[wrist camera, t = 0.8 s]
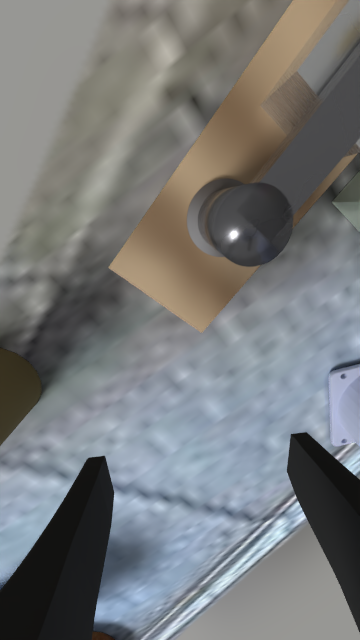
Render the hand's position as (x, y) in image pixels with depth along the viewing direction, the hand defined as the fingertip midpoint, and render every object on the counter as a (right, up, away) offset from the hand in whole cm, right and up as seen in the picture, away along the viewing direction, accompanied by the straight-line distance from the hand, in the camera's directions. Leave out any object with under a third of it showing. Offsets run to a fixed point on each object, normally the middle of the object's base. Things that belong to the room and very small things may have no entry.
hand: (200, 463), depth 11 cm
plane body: (+3, +14, +5) cm, 15 cm away
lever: (+4, +14, +3) cm, 15 cm away
